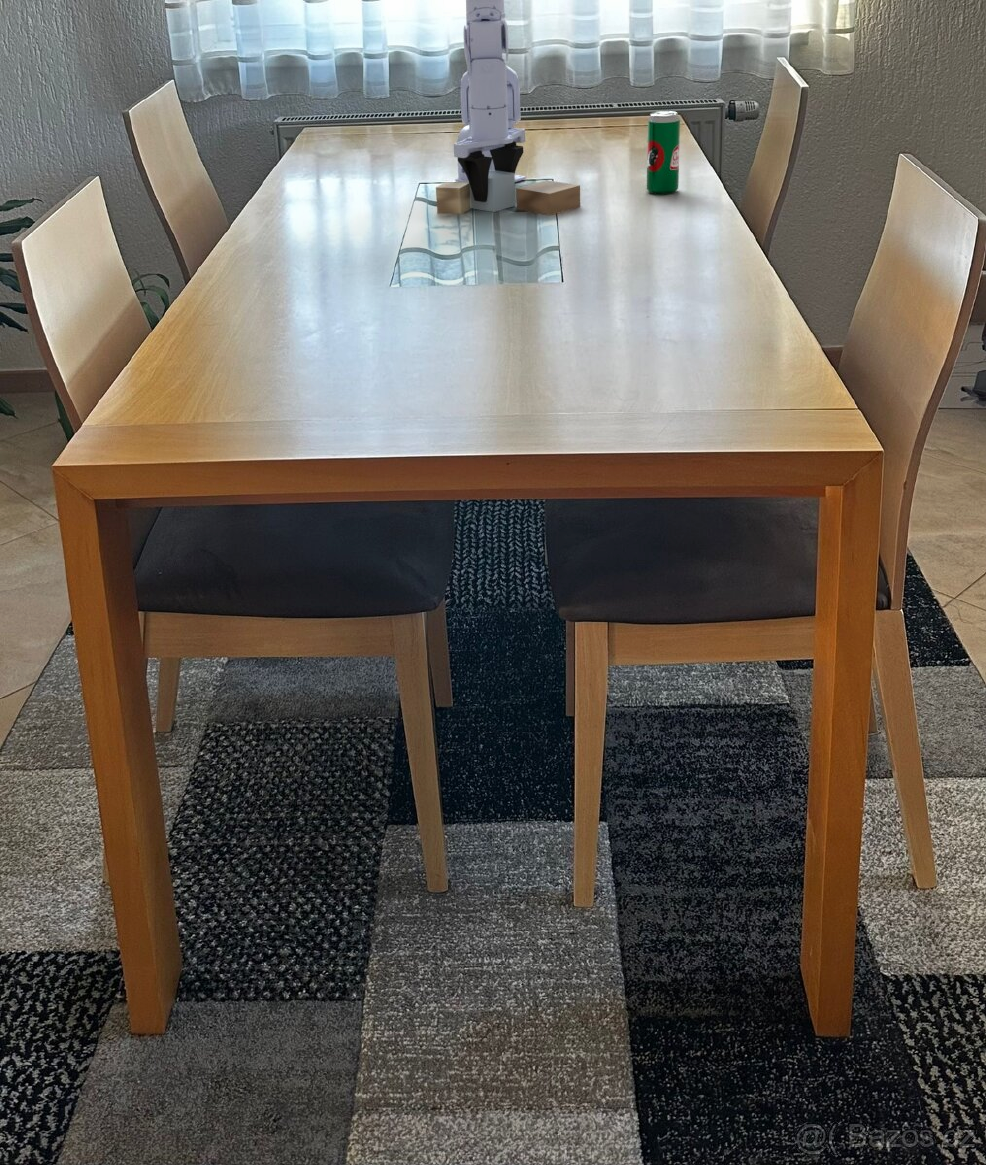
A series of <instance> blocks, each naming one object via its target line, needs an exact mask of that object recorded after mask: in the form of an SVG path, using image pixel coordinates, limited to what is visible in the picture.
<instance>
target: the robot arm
mask: <svg viewBox="0 0 986 1165" xmlns="http://www.w3.org/2000/svg"><path fill="white" fill-rule="evenodd" d="M465 11H466V12H465V13H466V14H465V16H466V19H465V20H466V23H465V25H464V26H463V50H464V51H463V52H464V58H465V63H466V72H464V73H463V74H462V77H461V79H460V112H461V113H460V114H461V115H460V117H461V121H462V124H464V125H465V126H464V127H463V128H461V130H460V131H459V133H458V135H457V139H456V142H455V143H453V157H454V158H456V159H457V172H458V176H457V178H455V182H461V183H469V184H470V187H471V190H472V193H473V197H474V200H475V201H479V202H486V201H487V196H488V175H489V170H497V171H504V172H511V173H514V177H515V183H517V182H520V181H524V180H526V178H527V177H526V175H519V174H516V170H517V167H518V165H519V162H520V160H521V158H522V156H523V154H524V146H522V145H517V143H518V144H523V143H526V129H524V128H515V124H519V122H520V121H521V118H522V117H521V90H520V88H521V87H520V81H519V80H520V79H519V76H518V74H517V71H516V70H514V69H512V68H511V67H510V66H508V65H507V62H506V61H508V58H509V32H508V31H509V30H508V28H509V27H508V23H507V18H506V13H505V0H465ZM503 50H504V51H505V58H506V59H503Z"/></svg>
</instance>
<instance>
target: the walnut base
mask: <svg viewBox="0 0 986 1165" xmlns="http://www.w3.org/2000/svg"><path fill="white" fill-rule="evenodd" d="M515 203H516V210H518V209H519V210H518V211H523V210H524V212H530V213H536V214H541V215H546V216H553V215H556V214H559V212H560V213H563V212H567V211H570V210H573V209H576V207H577V208H579V207H581V184H580V185H579V184H575V183H573V184H572V183H567V182H560V181H555V180H548V179H547V180H545V179H544V180H542V181H538V182H535V183H530V184H527V185H524V186H519V187H515ZM572 208H573V209H572ZM569 209H570V210H569ZM566 210H567V211H566ZM562 211H563V212H562Z"/></svg>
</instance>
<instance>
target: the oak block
mask: <svg viewBox="0 0 986 1165" xmlns="http://www.w3.org/2000/svg"><path fill="white" fill-rule="evenodd" d="M435 197H436V211H437V214H445V215H446V214H448V215H462V214H464V213H465V212H467V211H469V210H471V209H472V208H471V203H470V184H469V183H461V182H456V181H455V182H454V181H445V182H442V183H441V184H439V185H438V186H436V187H435Z"/></svg>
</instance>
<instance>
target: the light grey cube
mask: <svg viewBox="0 0 986 1165" xmlns="http://www.w3.org/2000/svg"><path fill="white" fill-rule="evenodd" d="M515 183H516V182H515V177H514V173H511V172H504V171H497V170H489V175H488V196H487V201H486V202H479V201H475V200H474V197H473V193H472V190H471V187H470V203H471V209H475V210H479V211H480V210H481V211H485V212H486V211H487V212H494V213H495V212H499V211H501V210H504V209H505V210H506V209H509V208H511V207H516V184H515Z"/></svg>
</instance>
